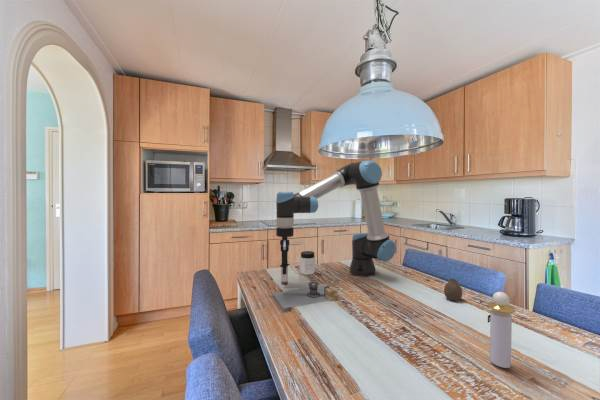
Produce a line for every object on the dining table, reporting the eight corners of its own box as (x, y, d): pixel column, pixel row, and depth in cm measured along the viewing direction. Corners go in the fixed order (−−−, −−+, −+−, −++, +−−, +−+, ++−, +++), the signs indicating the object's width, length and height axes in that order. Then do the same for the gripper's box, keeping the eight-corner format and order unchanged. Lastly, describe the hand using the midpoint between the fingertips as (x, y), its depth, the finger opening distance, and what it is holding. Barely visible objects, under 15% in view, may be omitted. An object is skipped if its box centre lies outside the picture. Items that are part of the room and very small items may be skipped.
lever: (329, 291, 118) (329, 267, 118) (329, 295, 114) (329, 270, 113) (282, 290, 120) (281, 266, 120) (280, 294, 116) (280, 269, 115)
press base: (322, 288, 128) (322, 279, 128) (339, 302, 112) (339, 292, 112) (272, 296, 119) (272, 286, 119) (283, 312, 103) (283, 300, 103)
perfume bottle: (519, 372, 68) (520, 296, 67) (497, 372, 68) (497, 296, 67) (503, 358, 73) (504, 288, 73) (482, 358, 74) (483, 288, 73)
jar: (301, 275, 150) (301, 254, 150) (299, 271, 158) (299, 251, 158) (316, 274, 151) (316, 253, 151) (313, 270, 159) (313, 250, 159)
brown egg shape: (466, 302, 110) (466, 282, 110) (449, 303, 110) (449, 282, 110) (456, 296, 117) (456, 277, 117) (440, 296, 117) (440, 277, 117)
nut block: (333, 296, 115) (333, 287, 115) (337, 299, 111) (337, 290, 111) (325, 297, 114) (325, 288, 114) (329, 301, 110) (329, 291, 110)
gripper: (277, 225, 120) (276, 276, 120) (275, 228, 107) (275, 286, 107) (293, 225, 120) (292, 276, 120) (293, 228, 107) (293, 285, 108)
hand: (284, 280), depth 114 cm, fingers closed
